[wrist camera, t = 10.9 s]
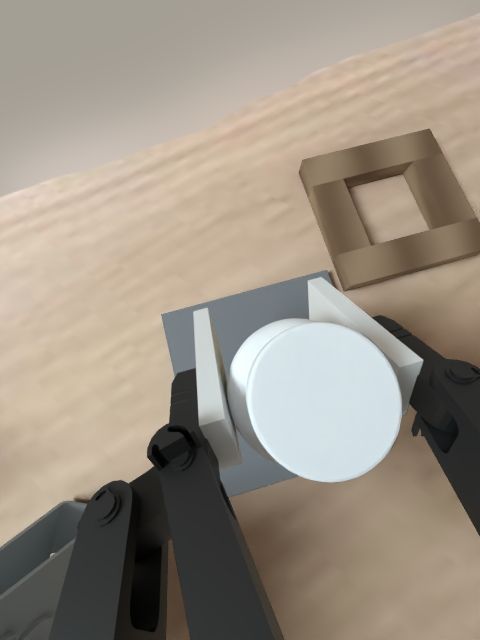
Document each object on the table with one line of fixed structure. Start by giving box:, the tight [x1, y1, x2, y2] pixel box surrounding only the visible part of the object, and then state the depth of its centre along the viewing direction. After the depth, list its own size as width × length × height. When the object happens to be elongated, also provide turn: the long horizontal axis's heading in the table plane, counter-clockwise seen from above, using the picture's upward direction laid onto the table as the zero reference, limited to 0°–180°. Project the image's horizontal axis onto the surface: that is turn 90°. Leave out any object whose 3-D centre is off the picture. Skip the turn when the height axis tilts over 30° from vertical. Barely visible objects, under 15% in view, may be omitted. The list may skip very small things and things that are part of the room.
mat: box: [161, 270, 393, 498], centre depth 19 cm, size 14×14×1 cm
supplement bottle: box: [227, 318, 402, 482], centre depth 11 cm, size 5×5×10 cm
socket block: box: [299, 129, 480, 291], centre depth 21 cm, size 12×12×1 cm
